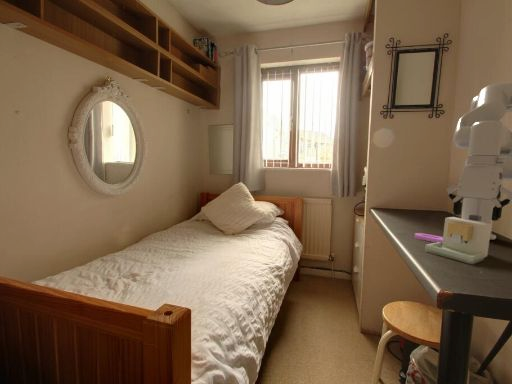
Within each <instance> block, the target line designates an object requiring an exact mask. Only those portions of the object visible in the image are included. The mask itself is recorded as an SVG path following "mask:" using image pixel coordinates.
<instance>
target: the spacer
mask: <svg viewBox="0 0 512 384" xmlns="http://www.w3.org/2000/svg"><path fill="white" fill-rule="evenodd" d="M472 232H473V225H467V224H462V223H456V222H451V223H448V231H447V237H452V234H456V235H461V236H463V239H462V240H464V241H468V240H472Z"/></svg>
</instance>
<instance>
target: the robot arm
mask: <svg viewBox="0 0 512 384" xmlns="http://www.w3.org/2000/svg"><path fill="white" fill-rule="evenodd" d="M507 113H512V81H505V82H498V83H497V82H496V83H492V84H488V85H487V86H485V87H483V88H482V89H481V90H480V91H479V93H478V94H477V95H475V96H474V97H473V99H472V100H471V103H470V111H468V112H467V113H465V114H463V116H462V117H460V118H459V120H458V121H457V123H456V126H455V130H454V135H453V144H454V146H455V147H456V148H458V149H467V150H468V151H467V158H466V160H465V162H464V166H463V168H462V171H461V173H460V177H459V182H458V183H457V184H455V185H452V186H449V187H447V188H446V193H447V194H448V197H449V198H450V199H451V201H452V202H453V210H452V211H453V215H455V216H458V215H459V216H460V215H461V217H460V218H463V219H469V215H478V216H482V218H481V222H487V223H492V225H491V232H490V240H491V241H492V240H493V241H494V240H496V239H497V235H496V234H493V233H492V230H493V222H496V221H499V219H501V217H502V211H503V208H504V207H505V206H507V205H508V204H510V203H512V190H509V189H508V188H505V187H503V183H504V182H512V131H511V129H509V128H508V126H507V125H505V124H504V123H503V122H502V121H501V120H502V119H503V118H504V117H505V116H506V114H507ZM455 190H457V191H456V193H457V195H456V194H454V191H455ZM503 194H504V195H505V196H506V198H505V199H502V200H501V198H502V196H503ZM462 201H463V202H462ZM490 240H489V241H490Z"/></svg>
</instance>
